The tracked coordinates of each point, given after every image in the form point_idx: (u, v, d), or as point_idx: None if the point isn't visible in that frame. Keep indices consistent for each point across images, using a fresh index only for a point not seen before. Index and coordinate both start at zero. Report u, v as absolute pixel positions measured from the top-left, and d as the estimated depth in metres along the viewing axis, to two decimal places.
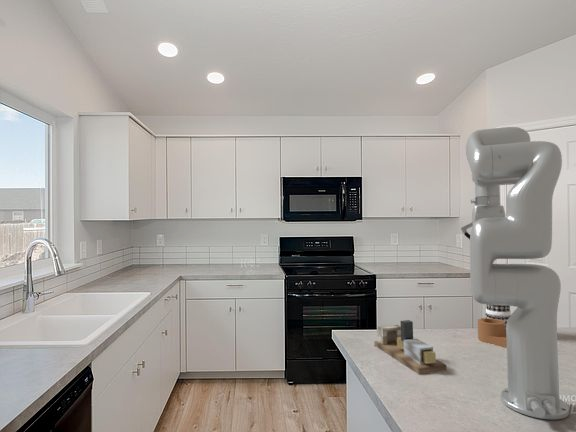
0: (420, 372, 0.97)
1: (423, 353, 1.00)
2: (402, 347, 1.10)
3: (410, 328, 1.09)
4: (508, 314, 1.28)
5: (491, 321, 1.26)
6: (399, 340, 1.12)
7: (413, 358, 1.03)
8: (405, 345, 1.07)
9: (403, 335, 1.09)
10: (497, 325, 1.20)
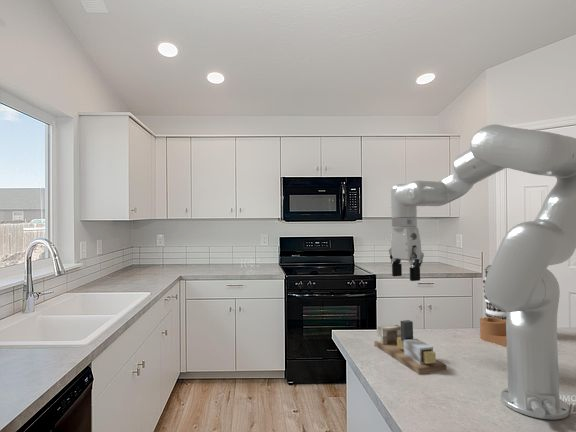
0: (420, 372, 0.97)
1: (423, 353, 1.00)
2: (402, 347, 1.10)
3: (410, 328, 1.09)
4: None
5: (494, 320, 1.27)
6: (399, 340, 1.12)
7: (413, 358, 1.03)
8: (405, 345, 1.07)
9: (403, 335, 1.09)
10: (498, 324, 1.21)
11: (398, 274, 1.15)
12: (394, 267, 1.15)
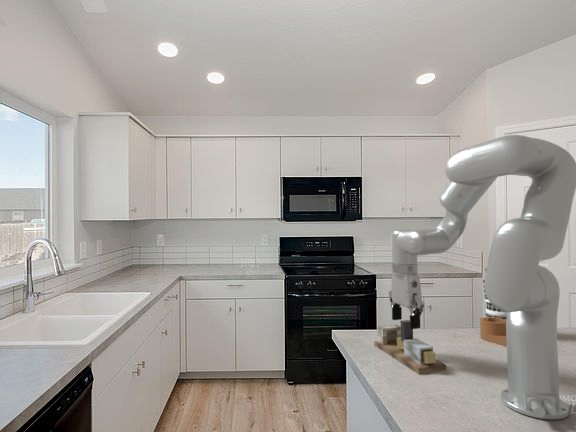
0: (420, 372, 0.97)
1: (423, 353, 1.00)
2: (402, 347, 1.10)
3: (410, 328, 1.09)
4: None
5: (495, 320, 1.27)
6: (399, 340, 1.12)
7: (413, 358, 1.03)
8: (405, 345, 1.07)
9: (403, 335, 1.09)
10: (497, 324, 1.21)
11: (398, 318, 1.15)
12: (394, 311, 1.14)
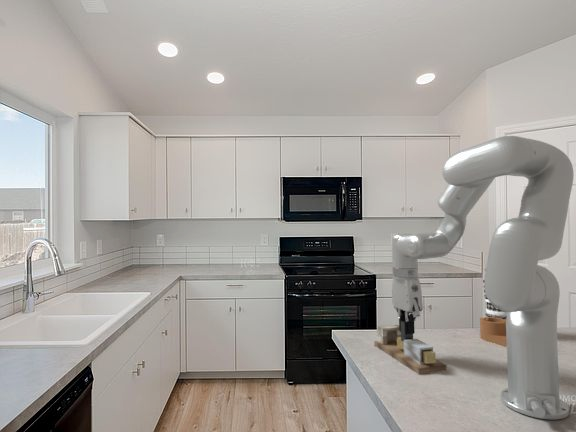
0: (420, 372, 0.97)
1: (423, 353, 1.00)
2: (402, 347, 1.10)
3: None
4: None
5: (495, 320, 1.27)
6: (399, 340, 1.12)
7: (413, 358, 1.03)
8: (405, 345, 1.07)
9: (403, 335, 1.09)
10: (497, 324, 1.21)
11: None
12: None
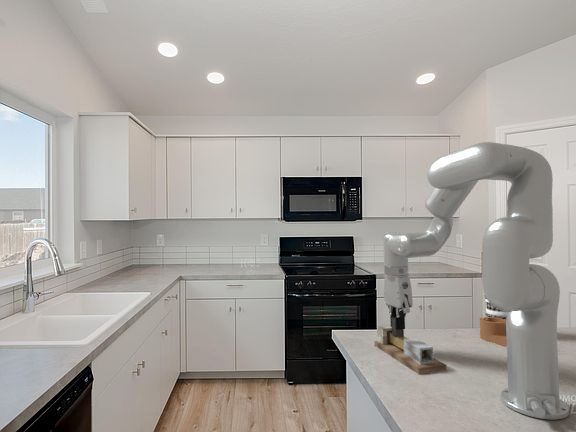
0: (420, 372, 0.97)
1: None
2: (393, 342, 1.15)
3: None
4: None
5: (495, 320, 1.27)
6: (390, 335, 1.16)
7: (413, 358, 1.03)
8: (405, 345, 1.07)
9: (394, 330, 1.14)
10: (497, 324, 1.21)
11: None
12: None
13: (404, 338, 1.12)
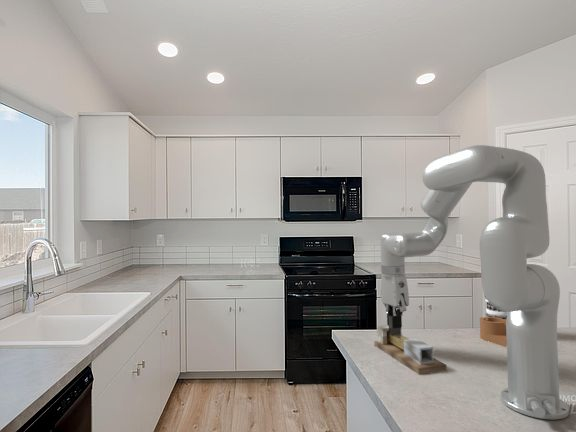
0: (420, 372, 0.97)
1: None
2: (390, 340, 1.17)
3: None
4: None
5: (495, 320, 1.27)
6: (387, 334, 1.18)
7: (413, 358, 1.03)
8: (405, 345, 1.07)
9: (391, 329, 1.16)
10: (496, 324, 1.21)
11: None
12: None
13: (400, 336, 1.14)
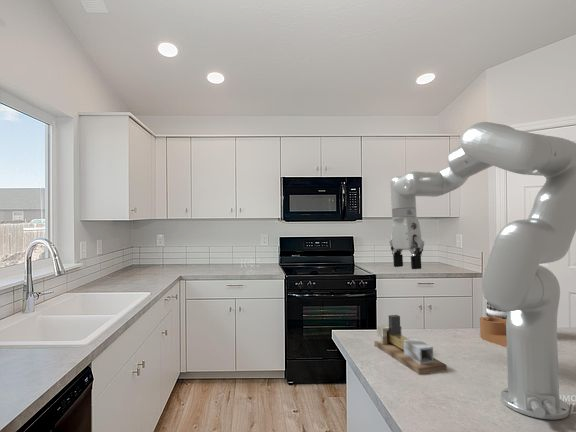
0: (420, 372, 0.97)
1: None
2: (390, 340, 1.17)
3: (398, 322, 1.16)
4: None
5: (495, 320, 1.27)
6: (387, 334, 1.18)
7: (413, 358, 1.03)
8: (405, 345, 1.07)
9: (391, 329, 1.16)
10: (496, 323, 1.21)
11: (399, 265, 1.18)
12: (395, 258, 1.17)
13: (400, 336, 1.14)
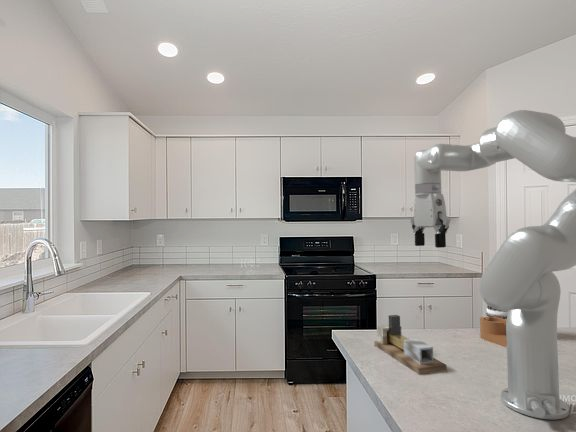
0: (420, 372, 0.97)
1: None
2: (390, 340, 1.17)
3: (398, 322, 1.16)
4: None
5: (496, 320, 1.28)
6: (387, 334, 1.18)
7: (413, 358, 1.03)
8: (405, 345, 1.07)
9: (391, 329, 1.16)
10: (495, 323, 1.22)
11: (421, 243, 1.12)
12: (417, 236, 1.12)
13: (400, 336, 1.14)
